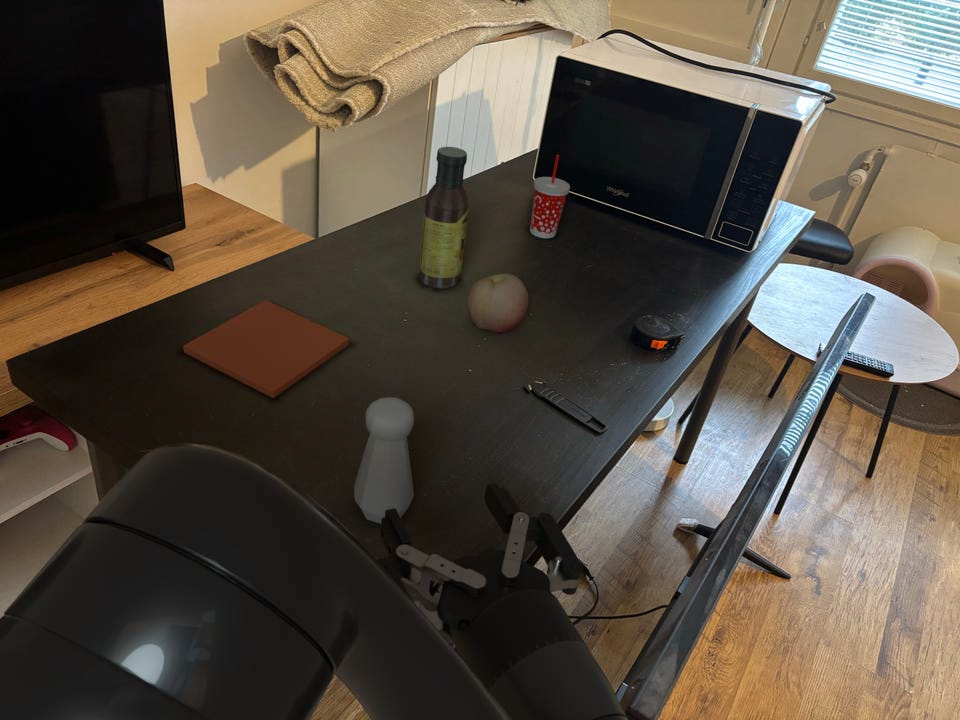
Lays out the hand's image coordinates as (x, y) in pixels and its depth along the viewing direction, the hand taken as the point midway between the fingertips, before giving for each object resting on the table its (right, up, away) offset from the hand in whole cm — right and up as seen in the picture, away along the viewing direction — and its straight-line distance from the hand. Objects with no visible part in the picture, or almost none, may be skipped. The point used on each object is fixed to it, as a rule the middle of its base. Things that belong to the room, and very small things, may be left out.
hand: (440, 503), depth 58 cm
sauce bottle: (-3, +23, +53) cm, 58 cm away
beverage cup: (+14, +33, +71) cm, 80 cm away
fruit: (+5, +16, +44) cm, 47 cm away
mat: (-23, +13, +34) cm, 43 cm away
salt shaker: (-6, -4, +15) cm, 17 cm away
